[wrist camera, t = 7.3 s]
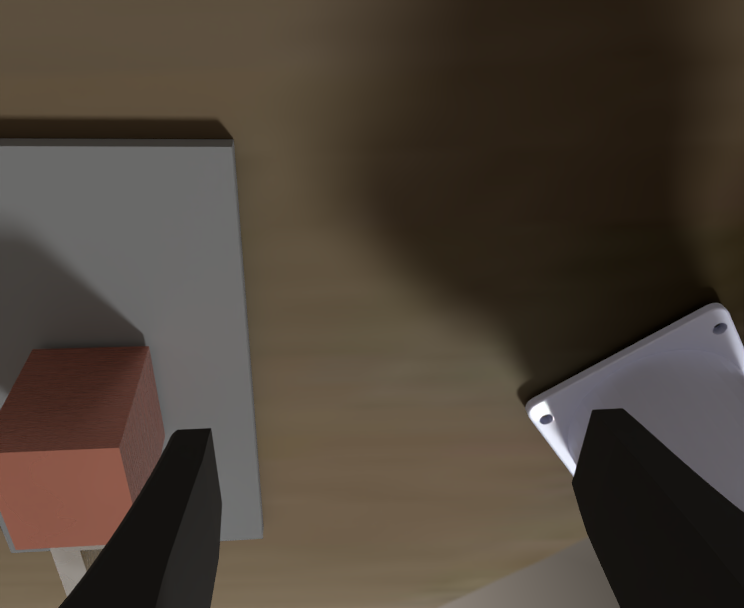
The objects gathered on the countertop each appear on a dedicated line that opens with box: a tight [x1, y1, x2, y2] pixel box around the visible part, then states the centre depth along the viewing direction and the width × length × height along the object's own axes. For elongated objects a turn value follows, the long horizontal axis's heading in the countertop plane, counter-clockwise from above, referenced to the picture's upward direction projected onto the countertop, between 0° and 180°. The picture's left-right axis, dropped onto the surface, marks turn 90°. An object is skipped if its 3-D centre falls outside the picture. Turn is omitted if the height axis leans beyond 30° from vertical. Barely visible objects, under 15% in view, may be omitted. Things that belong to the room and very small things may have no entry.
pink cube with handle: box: [0, 346, 165, 597], centre depth 23 cm, size 12×5×4 cm, turn 178°
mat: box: [0, 138, 263, 553], centre depth 23 cm, size 17×10×1 cm, turn 177°
